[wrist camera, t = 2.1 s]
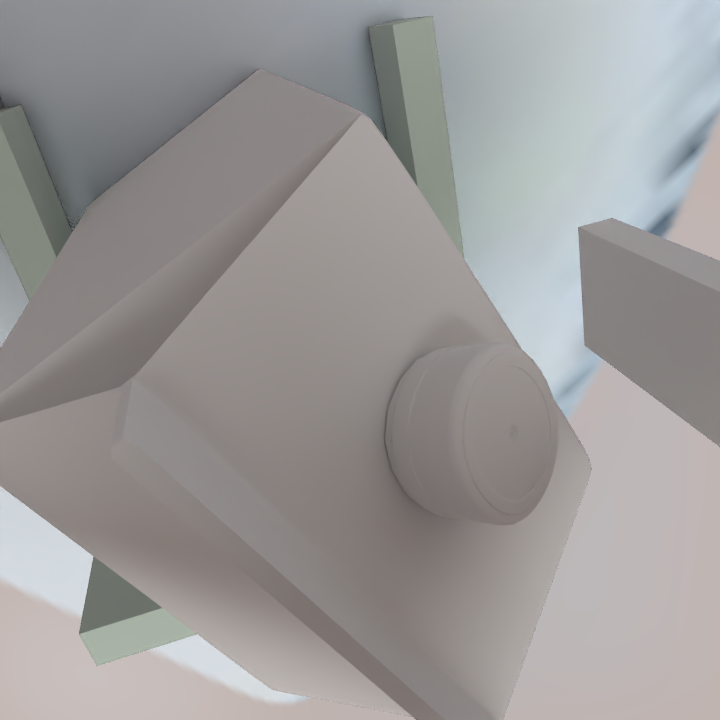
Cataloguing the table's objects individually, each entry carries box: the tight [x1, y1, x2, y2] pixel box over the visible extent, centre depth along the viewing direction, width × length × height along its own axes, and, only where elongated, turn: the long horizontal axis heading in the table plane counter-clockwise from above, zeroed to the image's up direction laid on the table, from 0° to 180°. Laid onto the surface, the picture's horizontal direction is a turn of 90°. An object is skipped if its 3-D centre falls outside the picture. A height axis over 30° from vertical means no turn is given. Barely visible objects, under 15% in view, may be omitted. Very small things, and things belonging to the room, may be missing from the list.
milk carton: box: [0, 69, 592, 720], centre depth 15 cm, size 7×7×19 cm
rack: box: [0, 16, 464, 666], centre depth 20 cm, size 13×13×10 cm
